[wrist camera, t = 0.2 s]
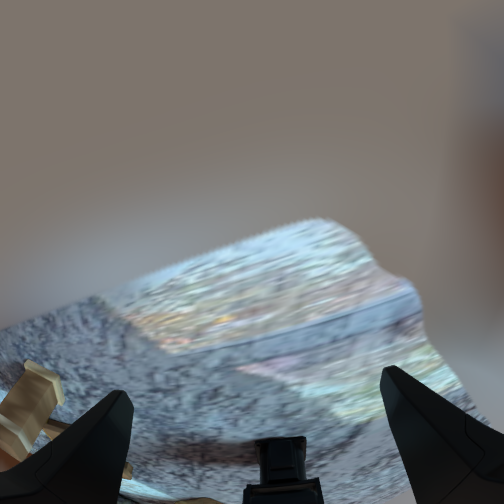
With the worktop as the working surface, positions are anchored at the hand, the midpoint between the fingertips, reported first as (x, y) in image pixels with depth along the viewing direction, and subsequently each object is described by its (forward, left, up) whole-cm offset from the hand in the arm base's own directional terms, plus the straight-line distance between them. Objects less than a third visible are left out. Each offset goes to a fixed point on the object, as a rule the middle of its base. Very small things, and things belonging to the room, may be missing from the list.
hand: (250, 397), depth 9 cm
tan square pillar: (-16, +30, -15) cm, 37 cm away
